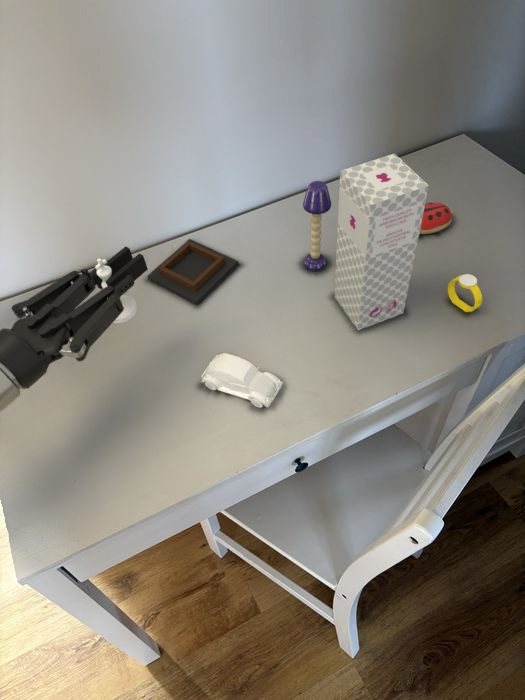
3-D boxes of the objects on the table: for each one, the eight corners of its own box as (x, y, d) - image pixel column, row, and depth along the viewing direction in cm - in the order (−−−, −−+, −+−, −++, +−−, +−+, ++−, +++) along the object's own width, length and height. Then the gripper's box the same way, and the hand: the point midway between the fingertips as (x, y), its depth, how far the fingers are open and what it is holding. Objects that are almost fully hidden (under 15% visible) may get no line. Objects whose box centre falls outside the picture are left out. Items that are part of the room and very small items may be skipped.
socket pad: (148, 279, 99) (144, 270, 97) (190, 242, 104) (188, 232, 102) (197, 305, 94) (194, 295, 92) (238, 265, 100) (237, 255, 98)
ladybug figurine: (395, 220, 104) (397, 205, 101) (440, 207, 105) (444, 192, 102) (412, 241, 100) (414, 226, 97) (459, 227, 101) (463, 212, 98)
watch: (480, 312, 88) (490, 287, 83) (468, 320, 87) (477, 295, 83) (453, 291, 91) (460, 266, 87) (441, 299, 91) (448, 273, 86)
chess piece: (144, 306, 79) (125, 255, 71) (121, 328, 76) (98, 277, 68) (120, 293, 80) (99, 242, 73) (96, 314, 78) (72, 264, 70)
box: (358, 330, 88) (371, 204, 68) (334, 296, 93) (340, 170, 73) (403, 313, 89) (428, 185, 70) (377, 280, 94) (394, 153, 75)
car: (199, 385, 84) (194, 368, 80) (220, 356, 87) (216, 338, 83) (266, 415, 79) (264, 398, 76) (286, 383, 82) (284, 365, 79)
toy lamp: (308, 252, 100) (307, 175, 87) (332, 256, 99) (335, 178, 86) (300, 269, 98) (298, 192, 84) (325, 274, 96) (327, 196, 83)
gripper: (-20, 360, 72) (108, 258, 82) (52, 415, 65) (181, 296, 76) (-50, 324, 66) (92, 218, 76) (26, 381, 59) (169, 257, 70)
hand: (136, 258), depth 76 cm, fingers closed on chess piece, 2 cm apart
